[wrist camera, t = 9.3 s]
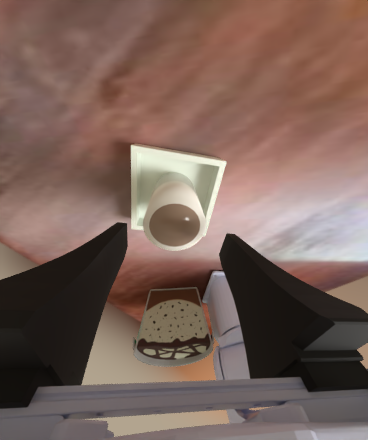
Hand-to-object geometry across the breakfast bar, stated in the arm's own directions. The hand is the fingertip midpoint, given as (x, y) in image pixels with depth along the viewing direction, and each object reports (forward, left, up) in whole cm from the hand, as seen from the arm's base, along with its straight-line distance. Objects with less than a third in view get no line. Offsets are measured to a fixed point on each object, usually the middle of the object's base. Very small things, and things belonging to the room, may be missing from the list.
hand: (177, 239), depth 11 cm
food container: (-23, -3, -11) cm, 25 cm away
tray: (0, 0, -10) cm, 10 cm away
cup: (0, 0, -10) cm, 10 cm away
